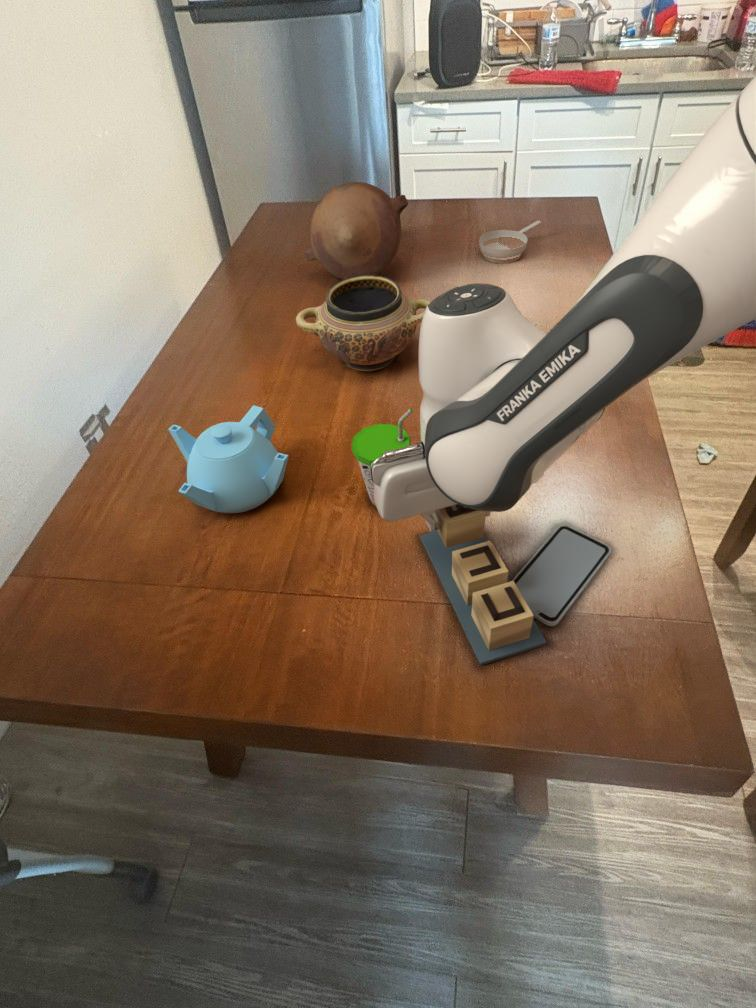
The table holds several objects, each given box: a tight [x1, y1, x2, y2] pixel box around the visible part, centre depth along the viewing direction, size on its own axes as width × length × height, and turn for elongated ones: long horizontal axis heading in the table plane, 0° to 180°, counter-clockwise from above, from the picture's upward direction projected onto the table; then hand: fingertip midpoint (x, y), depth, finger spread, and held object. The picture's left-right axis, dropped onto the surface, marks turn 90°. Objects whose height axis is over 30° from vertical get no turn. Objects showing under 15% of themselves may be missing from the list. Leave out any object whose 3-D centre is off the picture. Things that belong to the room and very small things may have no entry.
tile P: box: [433, 504, 487, 548], centre depth 75 cm, size 5×5×5 cm
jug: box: [304, 181, 409, 281], centre depth 133 cm, size 20×20×30 cm
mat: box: [419, 530, 547, 666], centre depth 74 cm, size 20×8×1 cm, turn 17°
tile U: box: [452, 540, 509, 605], centre depth 72 cm, size 5×5×5 cm
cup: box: [351, 407, 414, 507], centre depth 81 cm, size 8×8×15 cm
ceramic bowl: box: [295, 275, 431, 372], centre depth 108 cm, size 24×18×15 cm
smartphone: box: [511, 524, 612, 627], centre depth 75 cm, size 7×1×15 cm
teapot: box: [168, 404, 289, 514], centre depth 87 cm, size 15×15×11 cm
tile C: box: [471, 580, 534, 650], centre depth 68 cm, size 5×5×5 cm
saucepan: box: [478, 220, 542, 264], centre depth 139 cm, size 11×18×4 cm, turn 130°
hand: (458, 520), depth 75 cm, fingers closed on tile P, 5 cm apart
